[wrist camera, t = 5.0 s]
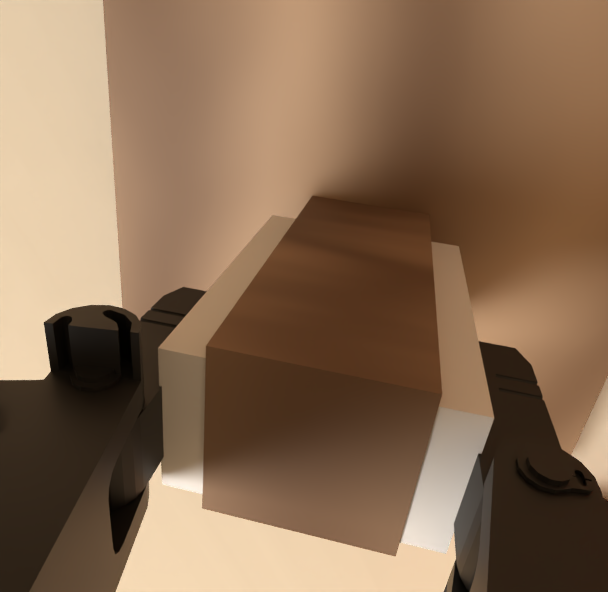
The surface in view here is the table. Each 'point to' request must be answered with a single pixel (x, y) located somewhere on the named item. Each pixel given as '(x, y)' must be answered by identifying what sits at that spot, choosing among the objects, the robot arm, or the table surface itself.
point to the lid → (362, 224)
